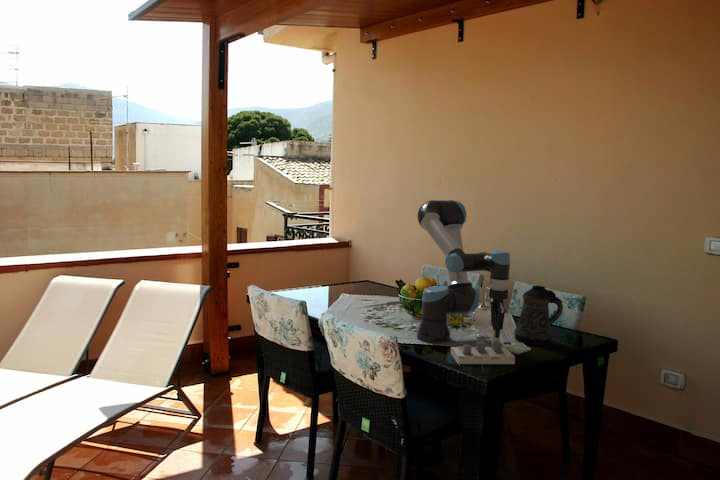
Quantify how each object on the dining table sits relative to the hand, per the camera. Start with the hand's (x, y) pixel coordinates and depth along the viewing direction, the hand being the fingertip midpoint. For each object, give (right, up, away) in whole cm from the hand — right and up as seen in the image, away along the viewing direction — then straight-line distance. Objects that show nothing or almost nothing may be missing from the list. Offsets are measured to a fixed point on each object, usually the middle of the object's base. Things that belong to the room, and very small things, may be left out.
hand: (495, 344), depth 248 cm
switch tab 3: (0, -3, -2) cm, 3 cm away
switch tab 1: (-14, -3, -8) cm, 16 cm away
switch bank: (-7, -5, -5) cm, 10 cm away
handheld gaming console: (+9, -4, +12) cm, 15 cm away
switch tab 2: (-7, -2, -3) cm, 8 cm away
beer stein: (+24, -3, +25) cm, 34 cm away
